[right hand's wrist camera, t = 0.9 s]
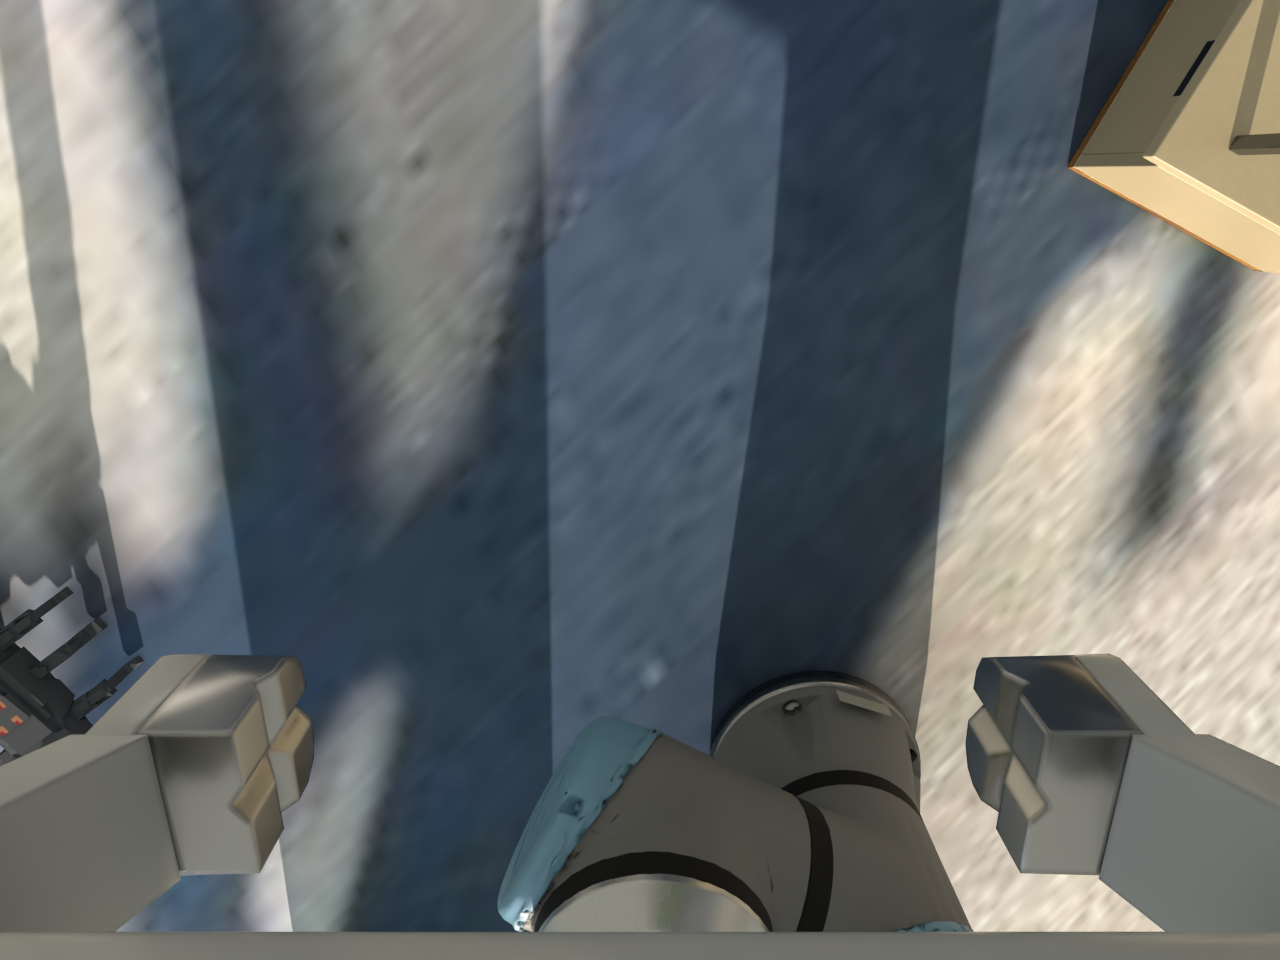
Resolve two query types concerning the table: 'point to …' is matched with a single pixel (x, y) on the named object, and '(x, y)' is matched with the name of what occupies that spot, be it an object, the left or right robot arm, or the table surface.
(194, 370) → the table surface
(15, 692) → the toy
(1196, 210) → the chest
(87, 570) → the table surface
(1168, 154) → the lid
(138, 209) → the table surface
